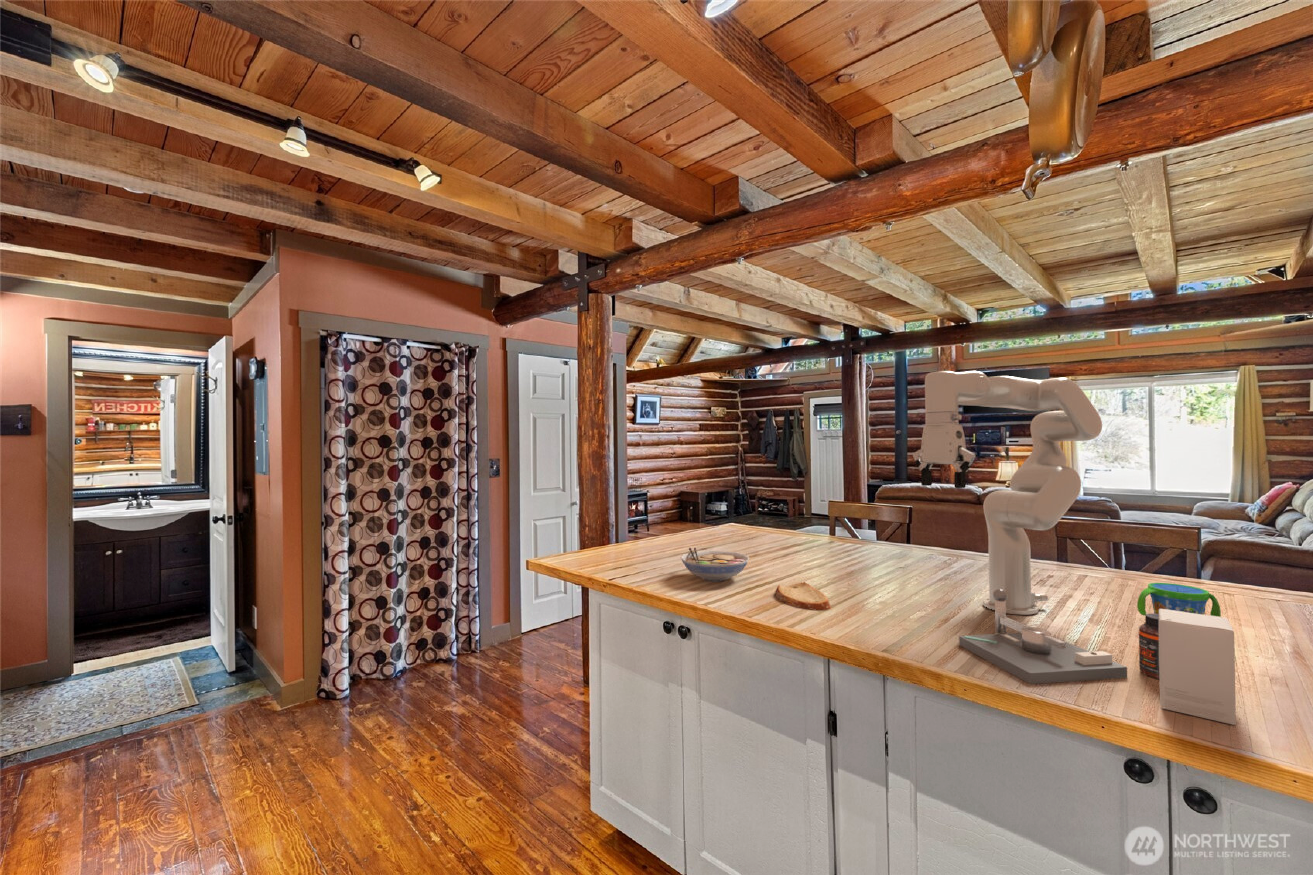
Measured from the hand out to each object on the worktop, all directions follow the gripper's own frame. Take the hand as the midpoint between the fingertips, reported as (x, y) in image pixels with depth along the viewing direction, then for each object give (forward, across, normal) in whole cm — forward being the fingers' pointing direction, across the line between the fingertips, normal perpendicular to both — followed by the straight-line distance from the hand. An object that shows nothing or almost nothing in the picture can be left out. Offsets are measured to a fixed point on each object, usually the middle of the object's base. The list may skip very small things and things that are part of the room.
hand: (942, 486), depth 142 cm
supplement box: (+34, -51, +5) cm, 61 cm away
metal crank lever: (+31, -25, +7) cm, 40 cm away
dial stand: (+34, -27, +8) cm, 44 cm away
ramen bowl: (+34, +61, +32) cm, 77 cm away
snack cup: (+34, -31, -40) cm, 60 cm away
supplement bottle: (+34, -42, -6) cm, 54 cm away
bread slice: (+34, +30, +21) cm, 50 cm away
